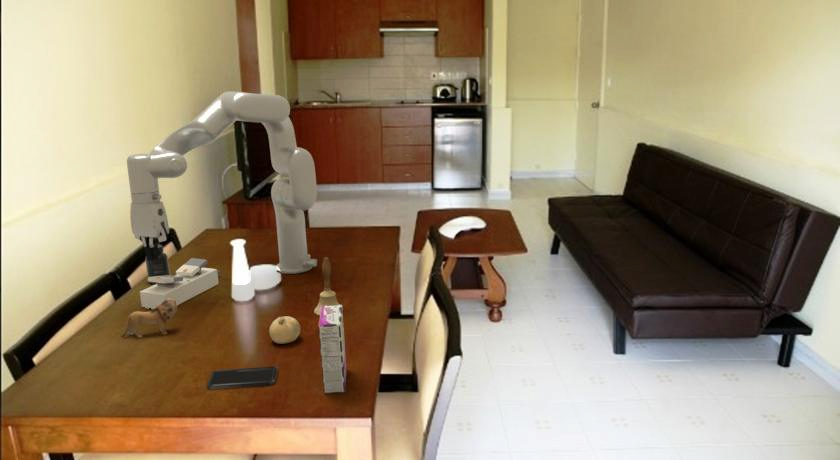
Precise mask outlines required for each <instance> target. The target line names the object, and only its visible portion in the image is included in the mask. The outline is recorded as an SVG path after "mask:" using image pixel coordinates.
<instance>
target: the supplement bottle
mask: <svg viewBox="0 0 840 460" xmlns="http://www.w3.org/2000/svg"><path fill="white" fill-rule="evenodd" d="M164 251H165V250H164V246H163V245H162V244H159V245H158V252H159V258H158V259H155V260H153V261H150V260H147V257H146V256H145V265H146V273H147V278H148V277H155V276H164V275H171V271H170V265H169V258H168V254H167V253H165V252H164ZM150 283H152V284H151V285H155V284H157V282H150ZM150 283H149V284H150Z"/></svg>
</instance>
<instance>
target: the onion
mask: <svg viewBox="0 0 840 460" xmlns="http://www.w3.org/2000/svg"><path fill="white" fill-rule="evenodd" d="M268 332H269V336H270V338H271V340H272V341H273V342H274V343H276V344H281V345H284V344H289V343H292V342H295V341H296V340H297V339H298V337H299V336H300V333H301V325H300V323H299V322H298V320H297V319H296V318H295V317H292V316H290V315H289V316H287V315H285V316H278V317H277V318H276V319H274V320H273V321H272V323H271V324H270V325H269V329H268Z"/></svg>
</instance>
